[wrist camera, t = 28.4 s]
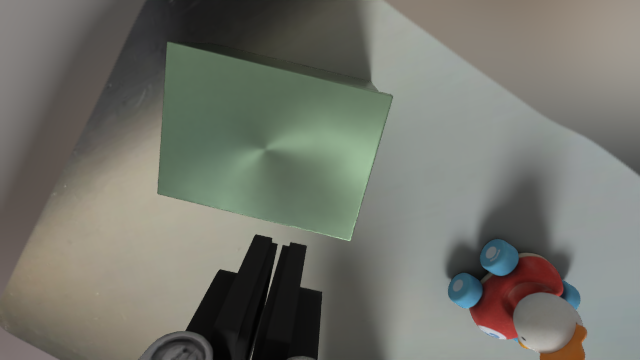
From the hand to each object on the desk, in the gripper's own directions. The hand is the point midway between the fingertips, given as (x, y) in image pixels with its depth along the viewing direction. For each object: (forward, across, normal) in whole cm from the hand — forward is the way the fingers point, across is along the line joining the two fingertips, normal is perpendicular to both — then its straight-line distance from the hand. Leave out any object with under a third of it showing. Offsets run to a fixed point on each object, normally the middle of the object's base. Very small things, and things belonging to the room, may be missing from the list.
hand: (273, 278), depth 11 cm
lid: (+14, +3, 0) cm, 14 cm away
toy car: (+20, -21, +10) cm, 31 cm away
